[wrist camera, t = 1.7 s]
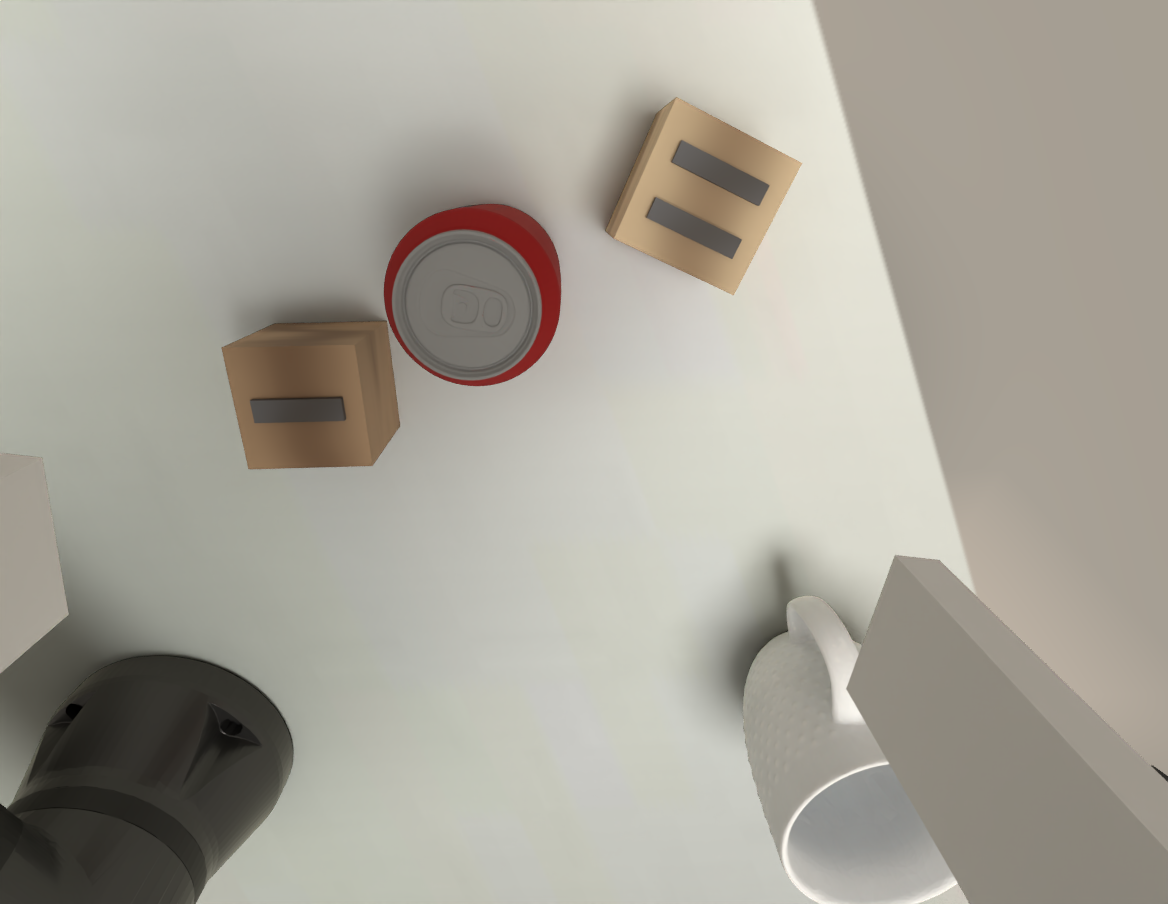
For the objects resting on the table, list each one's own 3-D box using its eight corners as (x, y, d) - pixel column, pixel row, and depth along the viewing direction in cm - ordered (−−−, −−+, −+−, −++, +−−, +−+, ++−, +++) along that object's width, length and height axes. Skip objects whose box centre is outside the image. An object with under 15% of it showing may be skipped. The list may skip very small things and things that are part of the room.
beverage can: (438, 191, 33) (377, 190, 22) (570, 216, 34) (576, 228, 23) (426, 323, 35) (365, 383, 24) (549, 344, 36) (545, 412, 25)
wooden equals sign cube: (605, 231, 34) (614, 239, 28) (656, 113, 32) (677, 96, 26) (706, 279, 35) (735, 296, 29) (761, 168, 33) (804, 163, 27)
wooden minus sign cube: (295, 428, 37) (245, 471, 32) (275, 323, 35) (218, 349, 29) (400, 425, 38) (370, 468, 32) (387, 320, 35) (352, 346, 30)
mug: (696, 571, 42) (752, 726, 30) (867, 531, 41) (996, 673, 29) (734, 742, 47) (794, 932, 35) (886, 709, 47) (1000, 891, 34)
